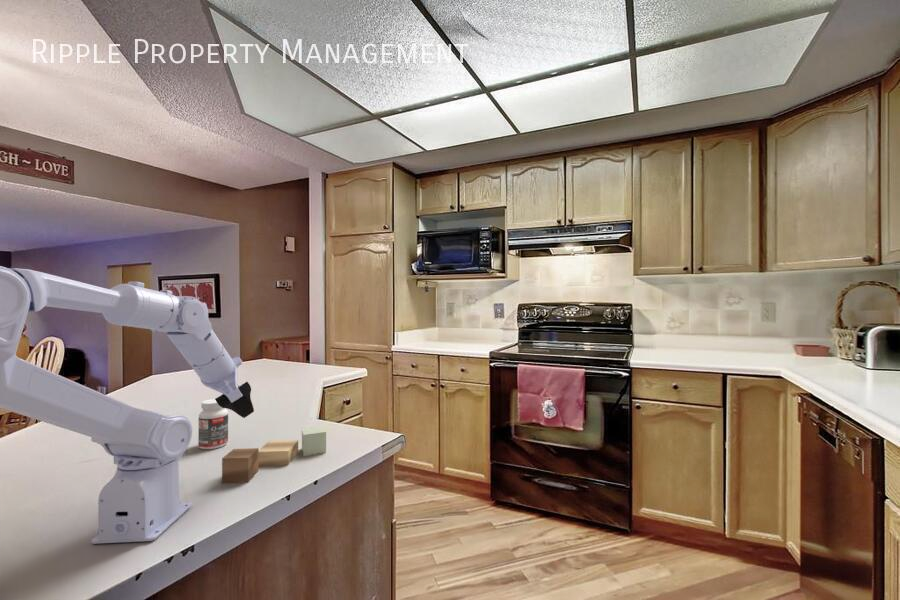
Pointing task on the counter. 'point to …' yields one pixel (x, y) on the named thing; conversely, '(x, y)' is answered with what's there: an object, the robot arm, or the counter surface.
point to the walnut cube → (240, 465)
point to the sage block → (313, 440)
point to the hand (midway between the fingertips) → (240, 402)
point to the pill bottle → (212, 425)
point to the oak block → (278, 452)
